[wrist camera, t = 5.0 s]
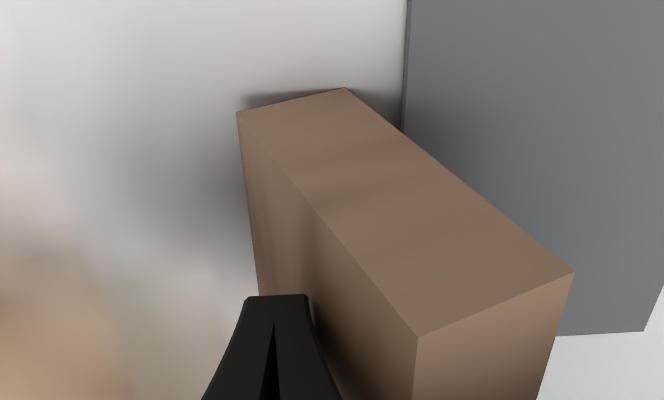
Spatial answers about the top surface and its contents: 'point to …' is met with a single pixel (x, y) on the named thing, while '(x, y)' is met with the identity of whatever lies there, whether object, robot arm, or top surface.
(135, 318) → the top surface
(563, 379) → the top surface
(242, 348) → the robot arm
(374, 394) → the slab
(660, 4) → the mat
